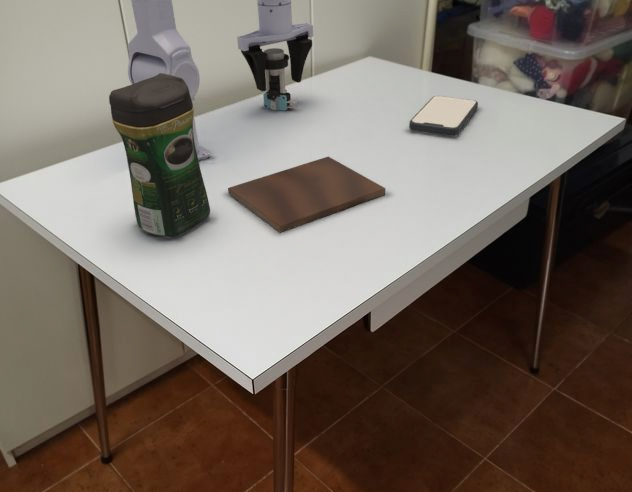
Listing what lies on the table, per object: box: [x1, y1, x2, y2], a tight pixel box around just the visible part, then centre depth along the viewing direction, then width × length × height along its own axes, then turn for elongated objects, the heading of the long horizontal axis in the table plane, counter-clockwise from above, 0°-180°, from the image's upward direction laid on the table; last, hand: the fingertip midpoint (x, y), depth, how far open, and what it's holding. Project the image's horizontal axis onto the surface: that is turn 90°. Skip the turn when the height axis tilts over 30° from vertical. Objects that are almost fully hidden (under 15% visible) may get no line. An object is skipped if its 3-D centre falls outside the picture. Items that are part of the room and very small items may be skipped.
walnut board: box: [227, 156, 386, 233], centre depth 90 cm, size 18×14×1 cm
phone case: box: [408, 95, 479, 137], centre depth 111 cm, size 9×2×16 cm
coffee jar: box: [108, 73, 211, 239], centre depth 79 cm, size 10×8×19 cm
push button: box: [262, 47, 298, 112], centre depth 114 cm, size 7×5×10 cm
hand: (279, 85), depth 115 cm, fingers open, 7 cm apart
